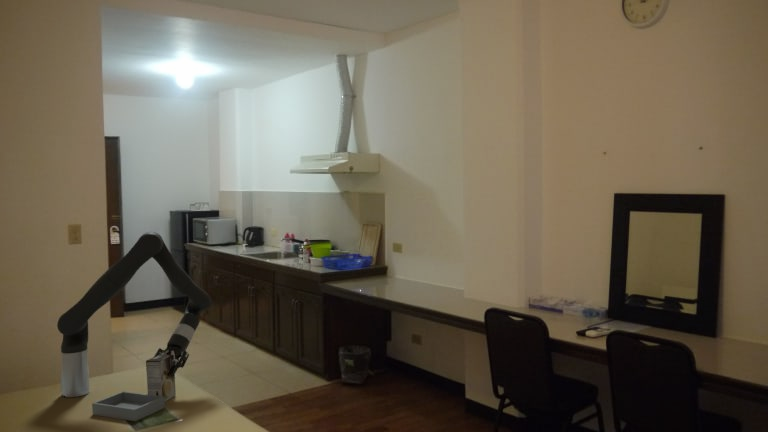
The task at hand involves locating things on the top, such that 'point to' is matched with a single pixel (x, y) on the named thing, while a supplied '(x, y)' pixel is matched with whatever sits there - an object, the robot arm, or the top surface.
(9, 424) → the top surface
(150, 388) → the coffee box
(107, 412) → the tray
